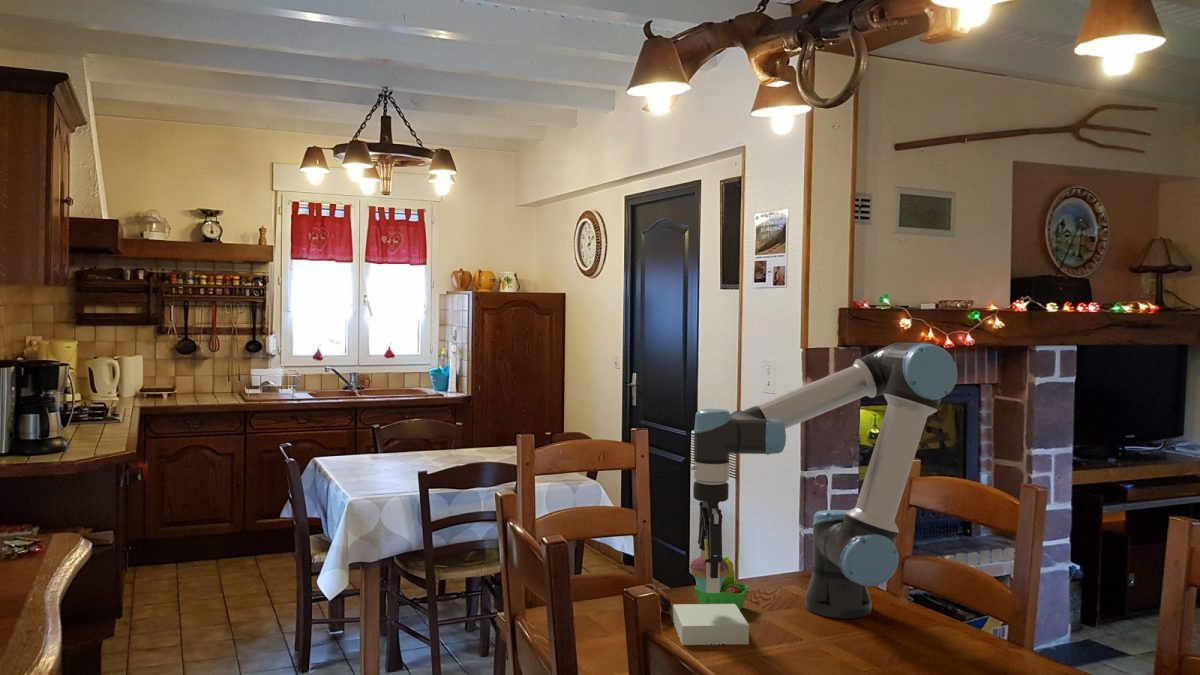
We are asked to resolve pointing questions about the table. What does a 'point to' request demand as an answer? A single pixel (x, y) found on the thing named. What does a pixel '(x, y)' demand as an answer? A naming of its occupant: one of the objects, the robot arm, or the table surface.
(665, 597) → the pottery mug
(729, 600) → the fruit basket
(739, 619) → the sage stand
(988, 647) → the table surface
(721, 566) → the cupcake
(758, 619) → the table surface
